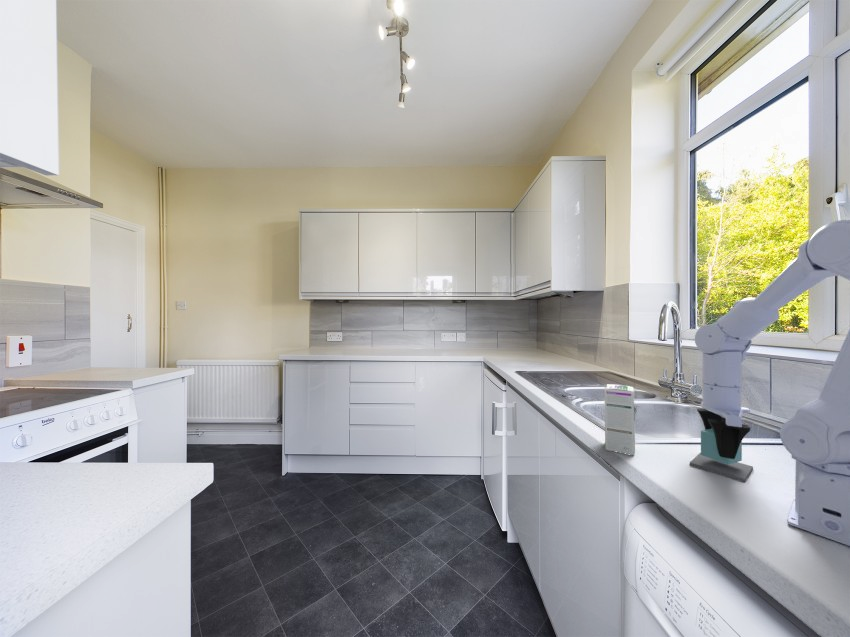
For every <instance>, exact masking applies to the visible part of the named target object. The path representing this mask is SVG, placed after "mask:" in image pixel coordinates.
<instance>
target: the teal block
mask: <svg viewBox="0 0 850 637" xmlns="http://www.w3.org/2000/svg"><path fill="white" fill-rule="evenodd" d="M742 446H743V440H742V441H741V443H740V446H739V448H738V451H737V454H736V457H735V459H730V458H724V457H720V456H719V453H718V450H717V444H716V439H715V435H714V432H713V429H707V430H705V429H703V430H700V452H701V455H703V456H706V457H708V458H711V459H714V460H717V461H720V462H722V463H725V464H728V465H729V464H732V463H735V462H739V463H740V462H741V461H743V460H742V458H743V457H742V456H743V453H742V452H743V447H742Z"/></svg>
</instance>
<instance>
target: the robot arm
mask: <svg viewBox="0 0 850 637" xmlns="http://www.w3.org/2000/svg"><path fill="white" fill-rule="evenodd" d="M837 276H839V277H841V278H843V279H846V280H848V281H850V219H841V220H836V221H832V222H829V223H827V224H825V225H824V224H823V225H822V226H821V227H820V228H818V229H817V230H816V231H815V232H814V233H813V234H812V235H811V236H810V238H808V239H807V240H805V241H804V242H803V243H800V245H799V247H798V253H797V257H796V258H795V259H793V261H791V263H789V264H788V265H787V267H785V269H784V270H783V271H781V272H780V274H778V275H777V276H776V277H775V278H774V279H773V280H772V281H771V283H769V284H768V285H767V286H766V287H765V288H764V289H763V290H762V291H761V292H760V293H759V294H758V295H757V296H756V297H746V298H742V299H740V300H739V299H738V300H737V301H735V302H734V303H733V307H732V308H731V309H730V310H728V312H726V313H725V314H724V315H723V316H722V317H719V318H718V319H717V320H716V322H713V323H711V324H704V325H701V326H699V328H698V329H697V331H696V333H695V334H694V343H695V345H696V348H697V350H699V351H700V352H701V353H702V398H701V399H702V401H701V402H700V408H696V411H697V413H698V414H699V416H700V418H701V420H702V423H703V426H704V430H707V429H713V432H714V435H715V439H716V444H717V450H718V453H719V456H720V457H724V458H730V459H735V457H736V454H737V451H738V448H739V446H740V443H741V441H742V442H743V439H744V438H745V436H746V435H747V434H748V433H749V432H750V431H751V427H750V426H749V425H748V424H744V423H743V417H742V415H743V414H744V413H745V414H750V413H751V412H750V411H751V410H750V409H749V408H748V407H743V406H742V375H743V374H742V366H743V365H742V364H743V362H744V361H745V360H746V358H745V357H746V353H747V352H748V351H749V349H750V348H751V346H752V342H753V341H752V339H754V337H756V336H758V335H759V334H760V333H762V332H764V331H765V330H766V329H767V328H769V327H770V326H771V325H773V324H774V323H775V322H776V321H778V320H779V319H780V311H779V310H780V309H781V308H783V307H784V306H786V305H787V304H789V303H790V302H792V301H793V300H795V299H797V298H798V297H800V296H801V295H802V294H804V293H806V292H807V291H809V290H810V289H811V288H813V287H815V286H816V285H818V284H819V283H820V282H822V281H824V280H825V279H827V278H831V277H837ZM779 437H780V440H781V443H782V445H783V446H784V448H785V449H786V451H787V452H788V453H789V454H790V455H791V459H793V460H795V476H794V477H795V478H794V479H795V480H794V481H795V483H794V485H795V489H794V490H795V494H794V496H795V498H794V499H793V501H792V504H791V507H790V510H789V514H788V517H787V519H786V521H787V524H789V525H790V526H792V527H796V528H798V529H801V530H804V531H806V532H810V533H813V534H815V535H818V536H821V537H824V538H826V539H829V540H831V541H832V540H833V541H834V542H837V543H840V544H843V545H845V546H848V547H850V328H849V330H848V332H847V334H846V335H845V339H844V340H843V342H842V344H841V348H840V349H839V351H838V354H837V356H836V358H835V361H834V363H833V365H832V367H831V370H830V372H829V374H828V376H827V378H826V381H825V383H824V385H823V387H822V390H821V392H820V395H819V396H817V398H815V399H813V400H811V401H809V402H808V403H805V404H803V405H802V406H800V407H798V408H797V409H796V411H795V414H794V416H793V417H792V418H791V419H788V420H787V421H785V422H784V423H783V424H782V425H781V427H780V430H779Z"/></svg>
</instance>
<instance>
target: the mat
mask: <svg viewBox="0 0 850 637" xmlns="http://www.w3.org/2000/svg"><path fill="white" fill-rule="evenodd" d="M689 466H690V467H694V468H697V469H701V470H704V471H708V472H711V473H714V474H717V475H721V476H723V477H726V478H730V479H733V480H737V481H740V482H743V483H745V482H746V481H747V480H748V478H749V476H750V475H751V473H752V471H753V470H754V466H752V465H750V464H749V465H748V464H745V463H742V462H740V461H739V462H735V463H732V464H729V465H728V464H725V463H722V462H720V461H717V460H714V459H711V458H708V457H706V456H703V455H701V451H700V453H698V454H696V456H695V457H694V458H693V459H692V460H690V461H689Z"/></svg>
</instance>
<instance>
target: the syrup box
mask: <svg viewBox="0 0 850 637" xmlns="http://www.w3.org/2000/svg"><path fill="white" fill-rule="evenodd" d="M634 391H635V388H634V386H632V385H631V386H630V385H625V384H618V383H617V384H616V383H615V384H614V383H613V384H612V383H611V384H609V383H607V384H605V387H604V436H605V438H604V439H605V440H604V441H605V442H604V444H605V445H604V446H605V448H604V449H605V450H606V451H608V452H609V451H610V452H612V451H617V452H621V453H620V454H622V453H626V454H625V455H627V454H630V455H629V456H632V455H634V456H635V454H636V414H635V413H636V412H635V411H636V409H635V392H634ZM617 452H616V453H617Z"/></svg>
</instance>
